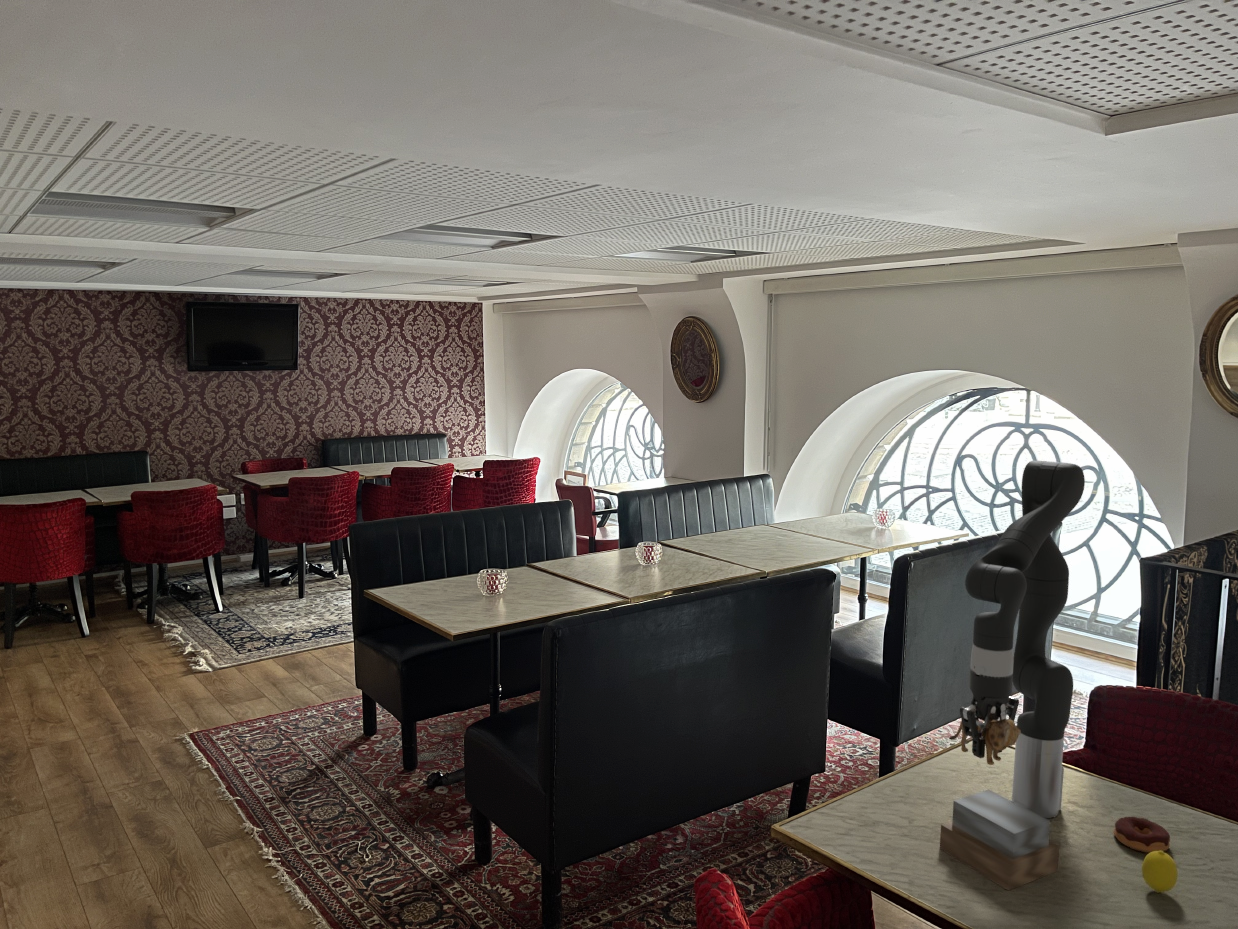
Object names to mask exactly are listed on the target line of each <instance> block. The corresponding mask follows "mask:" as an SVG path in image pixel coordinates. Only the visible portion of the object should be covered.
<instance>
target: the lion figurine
mask: <svg viewBox="0 0 1238 929" xmlns="http://www.w3.org/2000/svg"><path fill="white" fill-rule="evenodd" d="M980 730H981V727H980V726H979V727H978V732H980ZM961 732H962V734H961ZM960 734H961V739H960V745H961V746H960V747H961V751H962V752H963V753H968V752H969V749H968V747H967V746H966V745H968V744H969V740H968V739H967V737H969V736H968V735H965V734H964V730H963V725H962V720H960V724H959V728H958V729H957V732H956V733H955V735H952V736H950V737H948V739H949V740H951V741H954V740H956V739H957V738H958V737H959V735H960ZM1020 734H1021V730H1019V729H1018V728H1017V724H1016V723H1015V720H1014V721H1013V720H1010V719H1009V718H1006V719H1003V720H1000V721H996V722H991V725H990V728H989V729H987V732H986V736H985V739H984V740H985V752H986V763H987V765H990V766H992V765H993V766H994V765H995V762H994V761H997V762H999V761H1000V762H1001V760H1002V758H1001V756H998V755H999V753H998V752H999V750H1001V751H1002V752H1003V751H1005V750H1006V749H1007V748H1008V747H1012V746H1013V745H1016V741H1017V739H1018V736H1020Z"/></svg>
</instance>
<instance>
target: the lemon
mask: <svg viewBox="0 0 1238 929" xmlns="http://www.w3.org/2000/svg"><path fill="white" fill-rule="evenodd" d="M1141 875H1142V878H1143V880H1144V881H1145V883H1146V884H1147V886H1148V887H1150V888H1151V889H1152V890H1154V891H1155V893H1157V894H1158V893H1159V894H1160V893H1162V892H1168V891H1170V890H1172V889H1173V888H1174V887H1175V886H1176V884H1177V881H1178V867H1177V865H1176V863H1175V860H1174V859H1173V858H1172V857H1171V855H1169V854H1168V853H1166V852H1165V851H1161V850H1160V851H1153V852H1150V853H1147V854H1146V856H1145V857H1144V859H1143V862H1142V866H1141Z"/></svg>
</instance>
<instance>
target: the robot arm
mask: <svg viewBox="0 0 1238 929" xmlns="http://www.w3.org/2000/svg"><path fill="white" fill-rule="evenodd" d="M1085 480H1086V479H1085V474H1084V471H1083V469H1082V468H1081V466H1080V465H1078V464H1076V463H1071V462H1060V461H1059V462H1058V461H1047V460H1030V461H1029V462H1027V463H1026V465H1025V466H1024V468H1023V472H1022V478H1021V509H1022V510H1021V515H1022V516H1020V517H1018V519H1015V520H1014V521H1013V522H1011V523H1010V524H1009V525H1008V527H1007V528H1006V529H1005V530H1004V532H1003V533H1002V535H1001V537H999V540H998V542H997V543H996V545H995V546H993V548H991V549H990V550H989V551H987V552H986V553H985V554H983V555H982V556H981V557H980V558H978V559H977V560H976V561H975V562H973V563H972V565H971V566H970V567H969V569H968V571H967V573H966V576H965V579H964V580H965V581H964V585H965V589H966V592H967V594H968V595H969V596H970V597H971V598H974V599H976V600H979V601H983V602H984V601H985V602H990V603H993V604H1000V609H999V611H986V612H979V613H978V614H977V615H976V616H975V617H974V621H973V636H972V648H971V653H970V654H971V655H970V668H969V669H970V671H969V689H970V692H971V693H972V699H971V702H970V705H969V706H967V707H964V706H961V707H960V708H959V714H960V721H962V725H963V730H964V734H965V735H968V736H967V737H970V738H971V739H972V744H971V752H972V754H973V756H974V757H977V758H979V759H983V758H985V757H986V756H985V755H986V754H985V752H986V745H985V740H984V739H985V736H986V732H987V729H989V728H990V725H991V722H996V721H1000V720H1003V719H1007V716H1008V719H1010V720H1013V721H1014V722H1015V719H1016V716H1017V711H1018V708H1019V704H1020V700H1019V699H1017V698H1015V697H1013V696H1012V694H1013V687H1014V689H1015V690H1016V691H1017V692H1018V693H1020V694H1021V695H1023V696H1025V697H1027V698H1029V699H1031V700H1034V701H1035V705H1034V710H1033V711H1025V712H1022V713H1020V714H1019V715H1018V716H1017V720H1016V726H1017V728H1018V729H1019V730H1021V734H1020V736H1018V739H1017V741H1016V743H1015V747H1014V749H1015V750H1014V764H1013V778H1012V779H1013V780H1012V792H1011V793H1012V794H1011V801H1012V802H1014V803H1016V804H1018V805H1020V806H1022V807H1024V808H1026V809H1028V810H1030V811H1032V812H1034V813H1036V814H1038V815H1040V816H1042V817H1043V818H1045V819H1051V818H1052V819H1053V818H1055V817H1057V816H1058V814H1059V811H1060V810H1061V809H1062V798H1063V797H1062V796H1063V788H1064V787H1063V784H1064V772H1065V771H1064V770H1065V769H1064V766H1063V756H1064V742H1065V741H1064V740H1065V731H1066V728H1067V726H1068V724H1069V722H1070V715H1071V708H1072V702H1073V701H1072V700H1073V694H1074V693H1073V692H1074V677H1073V674H1072V672H1071V670H1070V669H1069V668H1068V667H1067V666H1065V665H1064V664H1061V663H1060V662H1057V661H1054V660H1052V659H1050V658H1047V655H1046V645H1047V643H1046V642H1047V636H1048V633H1049V630H1050V628H1051V626H1052V625H1053V623H1054V622H1055V621H1056V619H1057V618H1058V616H1060V614H1061V612H1062V611H1064V610H1063V609H1064V608H1065V606H1066V604H1067V602H1068V597H1069V582H1070V581H1069V580H1070V570H1069V569H1070V568H1069V565H1068V563H1067V561H1066V558H1065V557H1064V555H1063V554H1062V552H1061V550H1060V548H1059V546H1058V545H1057V543H1056V542H1055V540H1054V538H1053V537H1052V532H1053V531H1054V530H1055V529H1057V527H1059V525H1060V524H1061V523H1062V522H1063V521H1064V520H1065V519H1066V518H1067V516H1068V515H1070V514H1071V512H1072V511H1073V510H1074V509H1075V507H1077V505H1078V504H1079V502H1080V500H1081V499H1082V497H1083V494H1084V490H1085V485H1086V484H1085V482H1086V481H1085ZM1017 617H1018V618H1017ZM1017 619H1018V621H1017ZM1016 621H1017V622H1018V623H1017V634H1016V640H1015V645H1014V636H1015V635H1014V634H1015V633H1014V632H1015V631H1014V630H1015V624H1016ZM979 726H980V727H981V730H980V732H978V727H979ZM1002 752H1003V750H1002V751H1001V750H999V752H998V754H1000V753H1002Z"/></svg>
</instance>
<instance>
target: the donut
mask: <svg viewBox="0 0 1238 929" xmlns="http://www.w3.org/2000/svg"><path fill="white" fill-rule="evenodd" d="M1114 826H1115V827H1114V829H1113V834H1114V836H1115V838H1116V839H1117V840H1118V841H1119V842H1120V843H1122V845H1123V846H1126V847H1128V848H1129V847H1130V849H1132V850H1134V851H1138V852H1140V851H1141V853H1145V854H1146V853H1147V854H1149V853H1150V852H1153V851H1160V850H1161V851H1163V852H1166V851H1167V850H1168V849H1169V848H1170V842H1171V838H1170V837H1171V836H1170V833H1169V832H1168V830H1167V829H1165V828H1164V827H1163V826H1161V825H1159V824H1158V823H1156V822H1154V821H1151V820H1149V819H1147V818H1144V817H1136V816H1124V817H1120V818H1118V819H1117V820H1116V821H1115V823H1114Z"/></svg>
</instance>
